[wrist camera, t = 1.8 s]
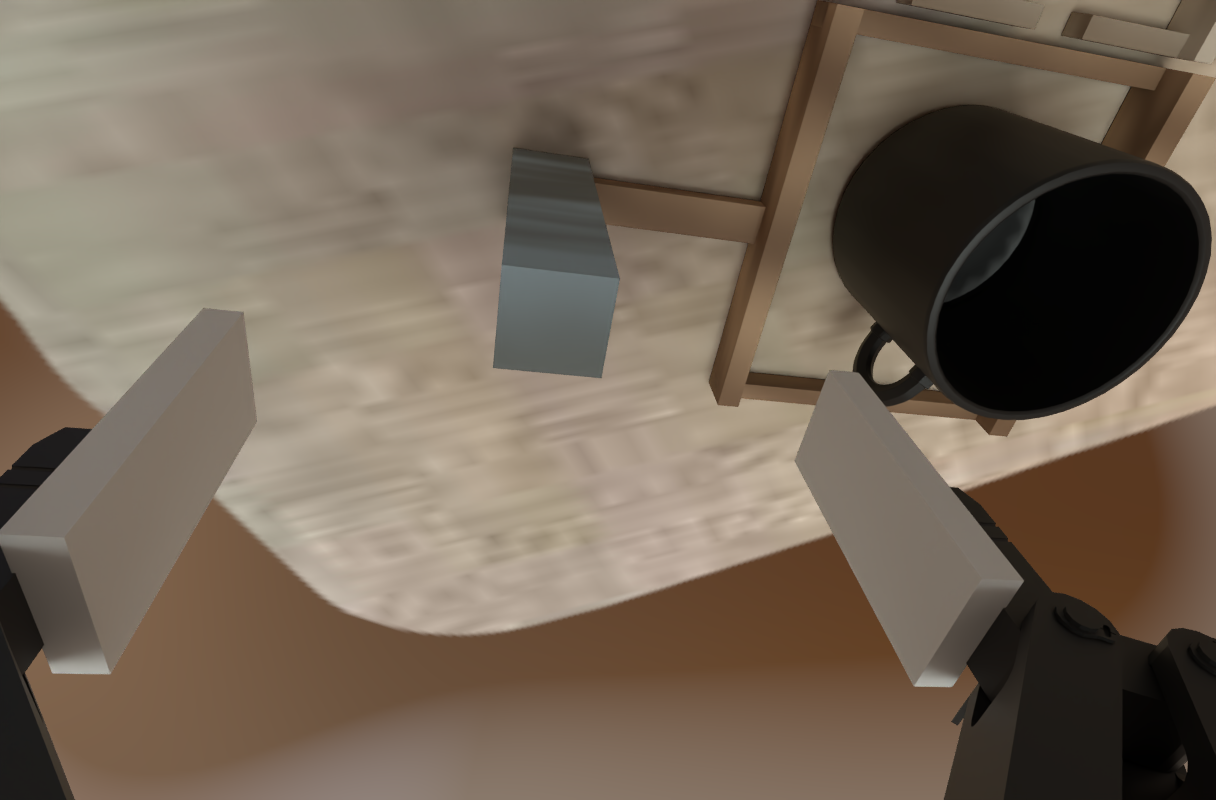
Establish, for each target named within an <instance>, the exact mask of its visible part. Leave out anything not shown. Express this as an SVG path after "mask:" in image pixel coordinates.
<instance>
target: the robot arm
mask: <svg viewBox="0 0 1216 800" xmlns="http://www.w3.org/2000/svg"><path fill="white" fill-rule="evenodd" d="M256 422H257V416H256V408H255V400H254V392H253V384H252V376H251V368H250V360H249V352H248V344H247V337H246V329H245V321H244V313H243V312H238V311H228V310H217V309H207V308H203V309H202V310H201V311H200V313H199V314H198V315H197V316H196V317H195V318H194V319H193V320H192V321H191V322H190V323H189V325H188V326H187V327H186V328H185V329H184V330H183V331H182V332H181V333H180V334H179V335H178V337H177V338H176V339H175V340H174V341H173V342H172V343H171V344H170V345H169V346H168V347H167V349H166V350H165V351H164V352H163V353H162V354H161V355H160V356H159V357H158V358H157V359H156V360H155V362H154V363H153V364H152V365H151V366H150V367H149V368H148V369H147V370H146V371H145V372H144V374H143V375H142V376H141V377H140V378H139V379H138V380H137V381H136V382H135V383H134V384H133V386H132V387H131V388H130V389H129V390H128V391H127V392H126V393H125V394H124V395H123V396H122V398H121V399H120V400H119V401H118V402H117V403H116V404H115V405H114V406H113V407H112V408H111V410H110V411H109V412H108V413H107V414H106V415H105V416H104V417H103V418H102V419H101V420H100V422H99V423H98V424H97V425H96V426H95V427H94V428H93V429H82V428H68V427H65V428H63V429H61V430H59V431H57V432H56V433H54V434H52V435H50V436H48V437H46V438H44V439H43V440H41V441H39V442H37V443H35V444H33V445H32V446H31V447H30V448H29V449H28V450H27V451H26V452H25V453H24V454H23V455H22V456H21V457H20V458H19V459H18V460H17V461H16V462H15V463H14V464H13V465H12V469H11V470H7V471H6V472H5V473H4V474H3V475H2V476H1V477H0V800H75V799H74V796H73V794H72V791H71V789H70V786H69V783H68V781H67V778H66V776H65V773H64V771H63V768H62V766H61V763H60V760H59V758H58V755H57V753H56V750H55V748H54V745H53V742H52V740H51V737H50V735H49V732H48V730H47V727H46V724H45V722H44V719H43V717H42V714H41V712H40V709H39V706H38V704H37V702H36V699H35V696H34V694H33V692H32V689H31V686H30V684H29V681H28V679H27V677H26V674H25V671H26V670H27V669H28V667H29V666H30V664H31V663H32V661H33V660H34V659H35V657H36V656H37V654H38V653H39V651H40V650H41V649H43V651H44V653H45V656H46V658H47V661H48V663H49V666H50V668H51V670H52V673H68V674H70V673H71V674H111V672H112V671H113V669H114V667H115V665H116V663H117V662H118V660H119V658H120V657H121V655H122V653H123V651H124V650H125V648H126V646H127V645H128V643H129V641H130V639H131V638H132V636H133V634H134V633H135V631H136V629H137V627H138V626H139V624H140V622H141V621H142V619H143V617H144V615H145V614H146V612H147V610H148V608H149V607H150V605H151V603H152V601H153V600H154V598H155V596H156V595H157V593H158V591H159V589H160V588H161V586H162V584H163V583H164V581H165V579H166V577H167V576H168V574H169V572H170V570H171V568H172V567H173V565H174V564H175V562H176V560H177V558H178V557H179V555H180V553H181V551H182V550H183V548H184V546H185V545H186V543H187V541H188V539H189V538H190V536H191V534H192V532H193V531H194V529H195V527H196V526H197V524H198V522H199V521H200V519H201V517H202V515H203V514H204V512H205V510H206V508H207V507H208V505H209V503H210V502H211V500H212V498H213V496H214V495H215V493H216V491H217V489H218V488H219V486H220V484H221V483H222V481H223V479H224V477H225V476H226V474H227V472H228V471H229V469H230V467H231V465H232V464H233V462H234V460H235V458H236V457H237V455H238V453H239V452H240V450H241V448H242V446H243V445H244V443H245V441H246V439H247V438H248V436H249V434H250V433H251V431H252V429H253V427H254V426H255V424H256ZM795 463H796V465H797V466H798V468H799V470H800V472H801V474H802V476H803V478H804V480H805V482H806V483H807V485H808V487H809V489H810V491H811V493H812V495H813V497H814V499H815V500H816V502H817V504H818V506H819V508H820V510H821V512H822V514H823V516H824V517H825V519H826V521H827V523H828V525H829V527H830V529H831V531H832V532H833V534H834V536H835V538H836V540H837V542H838V544H839V546H840V547H841V549H842V551H843V553H844V555H845V557H846V559H847V560H848V563H849V565H850V566H851V568H852V570H853V572H854V574H855V576H856V578H857V579H858V582H859V583H860V585H861V587H862V589H863V591H864V593H865V595H866V597H867V598H868V600H869V602H870V604H871V606H872V608H873V610H874V612H875V613H876V616H877V617H878V619H879V621H880V623H881V625H882V627H883V629H884V630H885V633H886V634H887V636H888V638H889V640H890V642H891V644H892V646H893V648H894V650H895V651H896V653H897V655H898V657H899V659H900V661H901V662H902V665H903V667H904V668H905V670H906V672H907V674H908V676H909V678H910V680H911V682H912V683H913V685H914V686H922V687H926V686H928V687H952V686H953V685H954V683H955V682H956V681H957V679H958V678H959V676H960V675H961V673H962V672H963V670H964V669H965V667H966V666H967V665H968V667H969V668H970V670H971V671H972V673H973V675H974V676H975V678H976V679H977V681H978V684H977V686H976V687H975V689H974V690H973V691H972V693H971V694H970V696H969V697H968V698H967V700H966V701H965V703H964V704H963V706H962V707H961V708H960V710H959V711H958V713H957V714H956V715H955V717H954V719H953V720H952V721H951V722H953V723H954V724H956V725H958V724H959V723H960V722H961V720H962V719H963V718H964V720H963V724H962V728H961V732H960V736H959V741H958V745H957V749H956V752H955V757H954V761H953V765H952V769H951V773H950V777H949V781H948V785H947V789H946V793H945V797H944V800H1216V639H1214V638H1211V637H1209V636H1207V635H1204V634H1202V633H1200V632H1197V631H1193V630H1189V629H1184V628H1178V629H1172V630H1171V631H1170V632H1169V633H1168V634H1167V635H1166V636H1165V637H1164V638H1163V640H1162V641H1161V642H1160V643H1159V644H1158V645H1157V646H1156V645H1153V644H1149V643H1145V642H1142V641H1139V640H1135V639H1132V638H1128V637H1125V636H1122V635H1120V634H1119V633H1118V631H1117V630H1116V628H1115V627H1114V626H1113V625H1112V623H1111V622H1110V621H1109V620H1108V619H1107V618H1106V617H1105V616H1103V615H1102V614H1101V613H1100V612H1099V611H1097V610H1096V609H1095V608H1093V607H1091V606H1090V605H1088V604H1086V603H1085V602H1083V601H1081V600H1079V599H1077V598H1074V597H1071V596H1069V595H1066V594H1061V593H1054V592H1052V591H1051V590H1050V588H1049V587H1048V586H1047V585H1046V584H1045V582H1044V581H1043V580H1042V579H1041V578H1040V576H1039V575H1038V574H1037V573H1036V572H1035V570H1034V569H1033V568H1032V567H1031V566H1030V564H1029V563H1028V562H1027V561H1026V559H1025V558H1024V557H1023V556H1022V555H1021V553H1020V552H1019V551H1018V550H1017V549H1016V547H1015V546H1014V545H1013V544H1012V542H1008V538H1007V536H1006V535H1005V534H1004V533H1003V532H1002V530H1001V529H1000V528H999V527H996V526H995V524H996V523H995V522H994V521H993V519H992V518H991V517H990V516H989V515H988V514H987V512H986V511H985V510H984V509H983V508H982V506H981V505H980V504H979V503H977V502H976V501H975V500H973V499H972V498H971V497H969V496H968V495H967V494H966V493H964V492H963V491H962V490H960V489H959V488H955V487H949V486H948V484H947V483H946V482H945V481H944V479H943V478H942V477H941V476H940V474H939V473H938V472H937V471H936V469H935V468H934V467H933V466H932V464H931V463H930V462H929V461H928V459H927V458H926V457H925V456H924V454H923V453H922V452H921V450H920V449H919V448H918V447H917V445H916V444H915V443H914V442H913V440H912V439H911V438H910V437H909V435H908V434H907V433H906V432H905V430H904V429H903V428H902V427H901V425H900V424H899V423H898V422H897V420H896V419H895V418H894V417H893V415H892V414H891V413H890V412H889V410H888V409H887V408H886V406H885V405H884V404H883V403H882V401H881V400H880V399H879V398H878V396H877V395H876V394H875V393H874V391H873V390H872V389H871V388H870V386H869V385H868V384H867V383H866V381H865V380H864V379H863V378H862V376H861V375H860V374H859V373H856V372H846V371H835V370H829V372H828V375H827V377H826V380H825V383H824V385H823V388H822V390H821V393H820V396H819V398H818V401H817V403H816V406H815V409H814V411H813V414H812V417H811V419H810V422H809V424H808V427H807V430H806V432H805V435H804V438H803V440H802V443H801V445H800V448H799V451H798V453H797V456H796V458H795ZM1187 761H1188V770H1187V772H1186V769H1185V766H1184V764H1185V763H1186V762H1187Z"/></svg>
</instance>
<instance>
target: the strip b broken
mask: <svg viewBox="0 0 1216 800" xmlns="http://www.w3.org/2000/svg"><path fill="white" fill-rule="evenodd" d="M896 3H901V4H906V5H911V6H916V7H921V8H926V9H931V10H936V11H941V12H946V13H951V14H956V15H961V16H966V17H971V18H976V19H981V20H986V21H991V22H996V23H1001V24H1006V25H1011V26H1017V27H1023V28H1029V29H1035V28H1036V25H1037V23H1038V21H1039V19H1040V16H1041V14H1042V12H1043V9H1044V7H1045V5H1044V4H1039V3H1034V2H1029V1H1025V0H897V2H896ZM1062 36H1067V37H1072V38H1077V39H1082V40H1087V41H1092V42H1097V43H1102V44H1107V45H1112V46H1117V47H1122V48H1127V49H1132V50H1137V51H1142V52H1147V53H1152V54H1157V55H1162V56H1167V57H1172V58H1178V59H1183V60H1189V61H1195V62H1201V63H1206V64H1212V63H1213V61H1214V60H1215V58H1216V0H1182V1H1181V3H1180V5H1179V7H1178V9H1177V11H1176V13H1175V15H1174V17H1173V18H1172V20H1171V22H1170V24H1169V26H1168V28H1167V30H1165V29H1160V28H1155V27H1150V26H1145V25H1141V24H1136V23H1131V22H1126V21H1121V20H1116V19H1112V18H1107V17H1102V16H1097V15H1091V14H1083V13H1075V12H1072V13H1071V16H1070V18H1069V20H1068V22H1067V24H1066V26H1065V29H1064V31H1063V33H1062Z"/></svg>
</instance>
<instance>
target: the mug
mask: <svg viewBox="0 0 1216 800" xmlns="http://www.w3.org/2000/svg"><path fill="white" fill-rule="evenodd" d="M1211 242H1212V237H1211V227H1210V220H1209V216H1208V213H1207V211H1206V208H1205V206H1204V203H1203V202H1202V200H1201V198H1200V197H1199V195H1198V194H1197V192H1196V191H1195V190H1194V188H1193V187H1192V186H1191V184H1189V183H1188V182H1187V181H1186V180H1185V179H1183V178H1182V177H1181V176H1180V175H1178V174H1177V173H1175V172H1173V171H1172V170H1170V169H1167V168H1165V167H1163V166H1161V165H1159V164H1157V163H1154V162H1151V161H1148V160H1145V159H1142V158H1139V157H1137V156H1134V155H1131V154H1128V153H1125V152H1122V151H1119V150H1116V149H1114V148H1111V147H1108V146H1105V145H1102V144H1099V143H1096V142H1093V141H1091V140H1088V139H1085V138H1082V137H1079V136H1076V135H1073V134H1070V133H1068V132H1065V131H1062V130H1059V129H1056V128H1053V127H1050V126H1047V125H1045V124H1042V123H1039V122H1036V121H1033V120H1030V119H1027V118H1024V117H1022V116H1019V115H1016V114H1013V113H1010V112H1007V111H1004V110H1001V109H997V108H993V107H988V106H979V105H965V106H958V107H951V108H947V109H943V110H940V111H936V112H933V113H930V114H928V115H926V116H924V117H921V118H919V119H917V120H915V121H913V122H911V123H909V124H908V125H906V126H904V127H903V128H901V129H900V130H898V131H896V132H895V133H893V134H892V135H891V136H890V137H888V138H887V139H886V140H885V141H884V142H883V143H881V144H880V145H879V146H878V147H877V148H876V149H875V150H874V151H873V152H872V153H871V154H870V155H869V156H868V158H867V159H866V160H865V161H864V162H863V163H862V165H861V166H860V168H859V169H858V170H857V172H856V173H855V175H854V176H853V178H852V180H851V181H850V183H849V185H848V187H847V189H846V191H845V192H844V195H843V198H842V200H841V203H840V206H839V209H838V212H837V216H836V221H835V225H834V237H833V249H834V260H835V263H836V267H837V270H838V273H839V276H840V278H841V280H842V282H843V284H844V286H845V287H846V288H847V289H848V291H849V292H850V293H851V294H852V296H853V297H854V298H855V299H856V300H857V301H858V302H859V303H860V304H861V305H862V307H863V308H864V309H865V310H866V311H867V312H868V313H869V314H870V315H871V316H872V317H873V319H874V320H875V321H876V322H875V323H874V324H873V325H872V326H871V331H870V333H869V334H868V335H867V337H866V338H865V339H864V341H863V342H862V344H861V346H860V347H859V350H858V352H857V355H856V357H855V360H854V364H853V372H856V373H859V374H860V375H861V376H862V378H863V379H864V380H865V381H866V383H867V384H868V385H869V386H870V388H871V389H872V390H873V391H874V393H875V394H876V395H877V396H878V398H879V399H880V400H881V401H882V403H883V404H884V405H885V406H886V407H889V406H894V405H897V404H901V403H903V402H906V401H908V400H910V399H911V398H913V397H914V396H916V395H917V394H919V393H920V392H921V391H923V390H924V389H925V388H927V389H929V388H930V387H931V386H932V385H933V384H934V385H935V386H936V387H937V388H938V390H939V391H940V392H941V393H942V394H943V395H944V396H945V397H947V398H948V399H949V400H950V401H951V402H953V403H954V404H955V405H957V406H959V407H961V408H963V409H964V410H966V411H969V412H971V413H974V414H977V415H980V416H983V417H987V418H993V419H1000V420H1026V419H1033V418H1040V417H1045V416H1049V415H1053V414H1056V413H1060V412H1064V411H1066V410H1069V409H1071V408H1074V407H1077V406H1079V405H1081V404H1084V403H1086V402H1088V401H1090V400H1092V399H1094V398H1096V397H1098V396H1100V395H1102V394H1104V393H1105V392H1107V391H1109V390H1110V389H1112V388H1113V387H1115V386H1117V385H1118V384H1120V383H1121V382H1123V381H1124V380H1125V379H1127V378H1128V377H1129V376H1131V375H1132V374H1133V373H1135V372H1136V371H1137V370H1138V369H1140V368H1141V367H1142V366H1143V365H1144V364H1145V363H1146V362H1148V361H1149V360H1150V359H1151V358H1152V357H1153V356H1154V355H1155V354H1156V353H1157V352H1158V351H1159V350H1160V349H1161V348H1162V347H1163V346H1164V344H1165V343H1166V342H1167V341H1168V340H1169V339H1170V338H1171V337H1172V335H1173V334H1174V333H1175V332H1176V330H1177V329H1178V327H1179V326H1180V325H1181V323H1182V322H1183V320H1184V319H1185V317H1186V316H1187V314H1188V313H1189V311H1190V309H1191V307H1192V306H1193V304H1194V302H1195V300H1196V298H1197V297H1198V294H1199V292H1200V289H1201V287H1202V284H1203V282H1204V279H1205V276H1206V273H1207V269H1208V265H1209V261H1210V256H1211ZM892 340H894V341H895V343H896V344H897V345H898V346H899V347H900V348H901V349H902V350H903V351H904V352H905V353H906V355H907V356H908V357H909V358H910V359H911V360H912V361H913V362H914V363H915V365H914V366H913V367H912V368H911V369H910V370H909V372H910V373H909V374H908V375H906V376H905V377H904V378H902V379H901V380H899V381H897V382H895V383H892V384H888V385H879V384H877V383H876V382H875V381H874V380H873V366H874V362H875V360H876V357H877V355H878V353H879V352H880V350H881V349H882V347H883V346H884V345H885V343H886V342H887V343H890V342H891V341H892Z"/></svg>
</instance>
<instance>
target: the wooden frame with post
mask: <svg viewBox="0 0 1216 800" xmlns="http://www.w3.org/2000/svg"><path fill="white" fill-rule="evenodd" d="M856 34H858V35H863V36H869V37H874V38H879V39H885V40H890V41H895V42H900V43H906V44H911V45H916V46H922V47H927V48H932V49H937V50H943V51H948V52H953V53H959V54H964V55H969V56H974V57H980V58H985V59H990V60H996V61H1001V62H1006V63H1011V64H1017V65H1022V66H1027V67H1032V68H1038V69H1043V70H1048V71H1054V72H1059V73H1064V74H1069V75H1075V76H1080V77H1085V78H1091V79H1096V80H1101V81H1106V82H1112V83H1117V84H1122V85H1128V86H1132V87H1131V89H1130V91H1129V93H1128V95H1127V97H1126V98H1125V100H1124V102H1123V104H1122V106H1121V108H1120V110H1119V112H1118V114H1117V116H1116V117H1115V119H1114V121H1113V123H1112V125H1111V127H1110V129H1109V131H1108V133H1107V134H1106V136H1105V138H1104V140H1103V142H1102V145H1105V146H1108V147H1111V148H1114V149H1116V150H1119V151H1122V152H1125V153H1128V154H1131V155H1134V156H1137V157H1139V158H1142V159H1145V160H1148V161H1151V162H1154V163H1157V164H1159V165H1161V166H1163V167H1164V166H1165V165H1166V163H1167V161H1168V159H1169V158H1170V156H1171V154H1172V153H1173V151H1174V149H1175V147H1176V146H1177V144H1178V142H1179V141H1180V139H1181V137H1182V135H1183V134H1184V132H1185V130H1186V129H1187V127H1188V125H1189V123H1190V122H1191V120H1192V118H1193V117H1194V115H1195V113H1196V111H1197V110H1198V108H1199V106H1200V105H1201V103H1202V101H1203V99H1204V98H1205V96H1206V94H1207V93H1208V91H1209V89H1210V87H1211V86H1212V84H1213V82H1214V81H1215V79H1216V78H1213V77H1208V76H1203V75H1198V74H1193V73H1188V72H1183V71H1177V70H1172V69H1167V68H1162V67H1157V66H1152V65H1147V64H1141V63H1136V62H1131V61H1126V60H1121V59H1116V58H1111V57H1106V56H1101V55H1096V54H1091V53H1085V52H1080V51H1075V50H1070V49H1065V48H1060V47H1055V46H1050V45H1045V44H1040V43H1034V42H1029V41H1024V40H1019V39H1014V38H1009V37H1004V36H999V35H994V34H989V33H983V32H978V31H973V30H968V29H963V28H958V27H953V26H948V25H943V24H938V23H933V22H927V21H922V20H917V19H912V18H907V17H902V16H897V15H892V14H887V13H882V12H876V11H871V10H866V9H861V8H856V7H851V6H846V5H841V4H836V3H831V2H825V1H820V0H817V4H816V7H815V11H814V14H813V18H812V21H811V25H810V28H809V32H808V35H807V39H806V43H805V46H804V50H803V53H802V57H801V60H800V64H799V67H798V71H797V74H796V78H795V81H794V85H793V88H792V92H791V95H790V99H789V102H788V106H787V109H786V113H785V116H784V120H783V123H782V127H781V131H780V134H779V138H778V141H777V145H776V148H775V152H774V155H773V159H772V162H771V166H770V169H769V173H768V176H767V180H766V183H765V187H764V190H763V194H762V197H761V201H755V200H748V199H741V198H734V197H727V196H720V195H713V194H706V193H699V192H692V191H685V190H678V189H671V188H664V187H657V186H650V185H643V184H635V183H628V182H621V181H614V180H607V179H600V178H593V174H592V171H591V167H590V163H589V159H586V158H579V157H572V156H565V155H558V154H552V153H545V152H538V151H531V150H524V149H518V148H513V157H512V167H511V177H510V187H509V198H508V208H507V218H506V228H505V239H504V249H503V259H502V270H501V282H500V293H499V304H498V316H497V327H496V339H495V350H494V362H493V368H500V369H510V370H521V371H531V372H542V373H553V374H563V375H574V376H584V377H595V378H601V377H602V372H603V366H604V361H605V356H606V350H607V345H608V339H609V334H610V329H611V323H612V318H613V313H614V307H615V302H616V296H617V291H618V286H619V280H620V278H619V274H618V270H617V266H616V262H615V259H614V255H613V251H612V247H611V243H610V239H609V236H608V232H607V228H606V224H607V225H615V226H623V227H630V228H638V229H645V230H653V231H660V232H668V233H676V234H683V235H691V236H698V237H706V238H714V239H721V240H729V241H736V242H744V243H748V247H747V250H746V254H745V257H744V261H743V264H742V268H741V271H740V275H739V278H738V282H737V285H736V289H735V292H734V296H733V299H732V303H731V306H730V310H729V314H728V317H727V321H726V324H725V328H724V331H723V335H722V338H721V342H720V345H719V349H718V352H717V356H716V359H715V363H714V366H713V370H712V373H711V377H710V380H709V384H710V387H711V389H712V392H713V394H714V397H715V399H716V401H717V404H718V405H724V406H735V407H738V406H739V402H740V399H741V398H744V399H755V400H766V401H777V402H787V403H798V404H809V405H816V403H817V401H818V398H819V396H820V393H821V390H822V388H823V385H824V383H825V380H822V379H811V378H801V377H791V376H781V375H771V374H761V373H751V372H749V371H750V368H751V365H752V362H753V358H754V355H755V352H756V349H757V346H758V343H759V339H760V336H761V333H762V330H763V327H764V324H765V321H766V317H767V314H768V311H769V308H770V305H771V302H772V299H773V295H774V292H775V289H776V286H777V283H778V280H779V277H780V273H781V270H782V267H783V264H784V261H785V258H786V255H787V251H788V248H789V245H790V242H791V239H792V236H793V232H794V229H795V226H796V223H797V220H798V217H799V214H800V210H801V207H802V204H803V201H804V198H805V195H806V192H807V188H808V185H809V182H810V179H811V176H812V173H813V170H814V166H815V163H816V160H817V157H818V154H819V151H820V147H821V144H822V141H823V138H824V135H825V132H826V129H827V125H828V122H829V119H830V116H831V113H832V110H833V107H834V103H835V100H836V97H837V94H838V91H839V88H840V85H841V81H842V78H843V75H844V72H845V69H846V66H847V62H848V59H849V56H850V53H851V50H852V47H853V44H854V40H855V37H856ZM886 408H887V409H888V410H889V412H895V413H906V414H917V415H928V416H939V417H949V418H960V419H971V420H976V421H977V422H978V423H979V424H980V426H981V427H982V428H983V429H984V430H985V431H986V432H987V433H988V434H989V435H997V436H1007V435H1008V434H1009V432H1010V430H1011V429H1012V427H1013V425H1014V423H1015V422H1016V420H1000V419H993V418H987V417H983V416H980V415H977V414H974V413H971V412H969V411H966V410H964V409H963V408H961V407H959V406H957V405H955V404H954V403H953V402H951V401H950V400H949V399H948V398H947V397H945V396H944V395H943V394H942V393H941V392H940V391H932V390H923V391H921V392H920V393H919V394H917V395H916V396H914V397H913V398H911V399H910V400H908V401H906V402H903V403H901V404H897V405H894V406H889V407H886Z"/></svg>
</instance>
